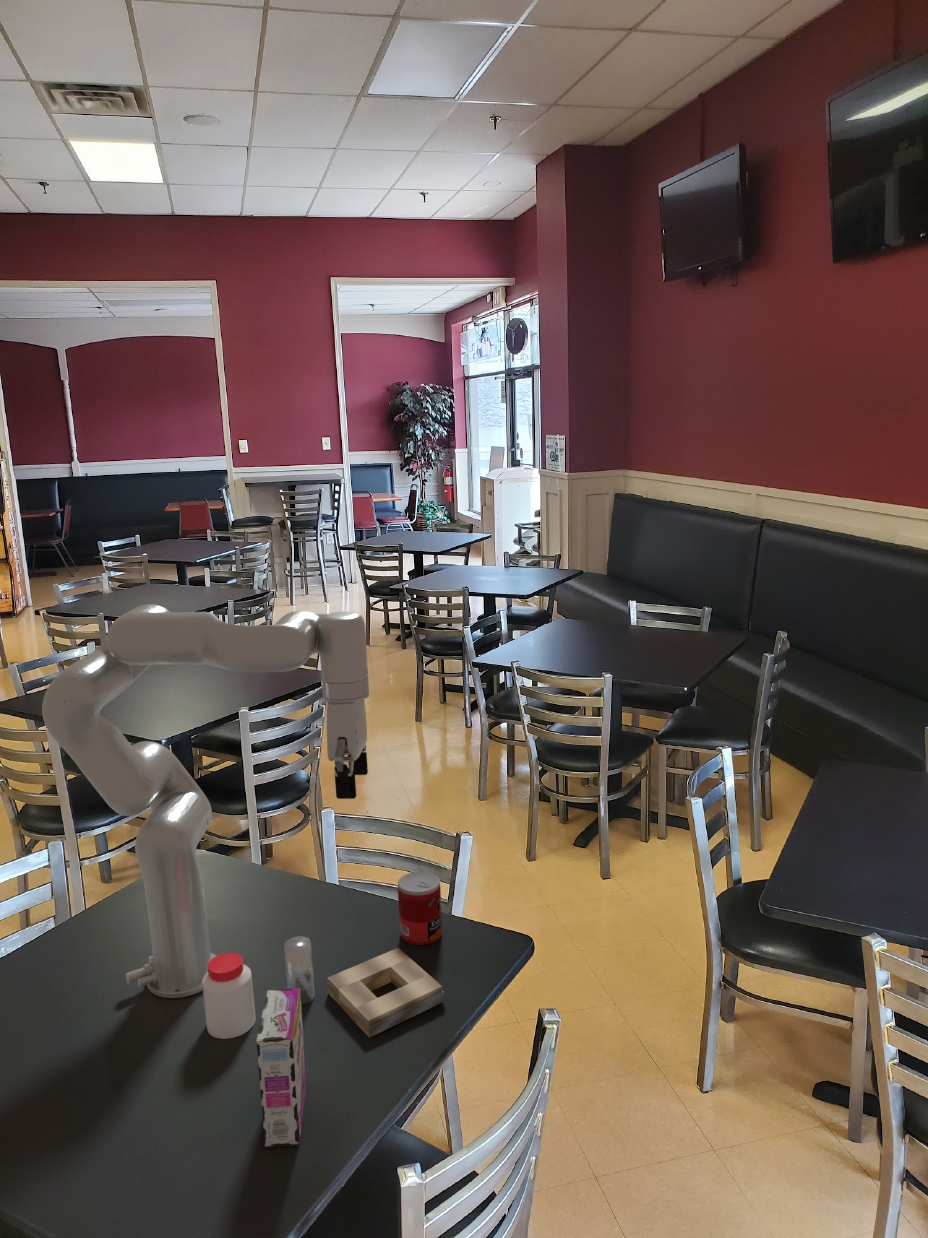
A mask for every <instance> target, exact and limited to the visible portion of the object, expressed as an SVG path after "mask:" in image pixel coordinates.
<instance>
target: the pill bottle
mask: <svg viewBox="0 0 928 1238" xmlns="http://www.w3.org/2000/svg"><path fill="white" fill-rule="evenodd" d="M252 975H253V974H252V971H251V969H250V967H249V966H247V964H244V959H243V956H242V955H240V954H239V953H236V952H224V953H220V954H218V955H216V957H214V958H212V959H211V960H210V961H209V963H208V972H207V973H206V974H205V975H204V977H203V979H202V989H203V991H202V995H203V1007H204V1015H205V1022H206V1023H205V1026H206V1031H207V1032H208V1034H209V1035H210V1036H211V1037H212V1038H216V1039H222V1040H225V1039H226V1040H227V1039H234V1038H236V1037H240V1036H242V1035H244V1034H246V1033H247V1032H249V1031H250V1030H251V1029H252V1028H253V1027H254V1025H255V1023H256V1020H257V1019H256V1018H257V1016H256V1006H255V995H254V984H253V976H252Z"/></svg>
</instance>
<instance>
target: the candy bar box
mask: <svg viewBox="0 0 928 1238" xmlns="http://www.w3.org/2000/svg"><path fill="white" fill-rule="evenodd" d="M302 1009H303V1008H302V1005H301V995H300V988H294V989H288V988H285V989H283V988H282V989H272V990H271V989H270V990H267V992H266V995H265V1000H264V1005H263V1009H262V1014H261V1016H260V1017H261V1018H260V1020H259V1021H260V1022H259V1027H258V1030H257V1037H256V1040H255V1043H256V1050H257V1051H256V1052H257V1063H258V1075H259V1077H258V1079H259V1088H260V1101H261V1112H262V1113H261V1114H262V1123H263V1124H262V1126H263V1138H264V1147H265V1148H272V1147H273V1148H274V1147H286V1146H297V1145H300V1142H301V1136H302V1135H301V1134H302V1126H303V1119H304V1110H305V1102H306V1101H305V1100H306V1095H307V1094H306V1093H307V1087H308V1086H307V1085H308V1084H307V1073H306V1071H307V1069H306V1058H305V1057H306V1056H305V1044H304V1043H305V1042H304V1027H303V1010H302Z"/></svg>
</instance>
